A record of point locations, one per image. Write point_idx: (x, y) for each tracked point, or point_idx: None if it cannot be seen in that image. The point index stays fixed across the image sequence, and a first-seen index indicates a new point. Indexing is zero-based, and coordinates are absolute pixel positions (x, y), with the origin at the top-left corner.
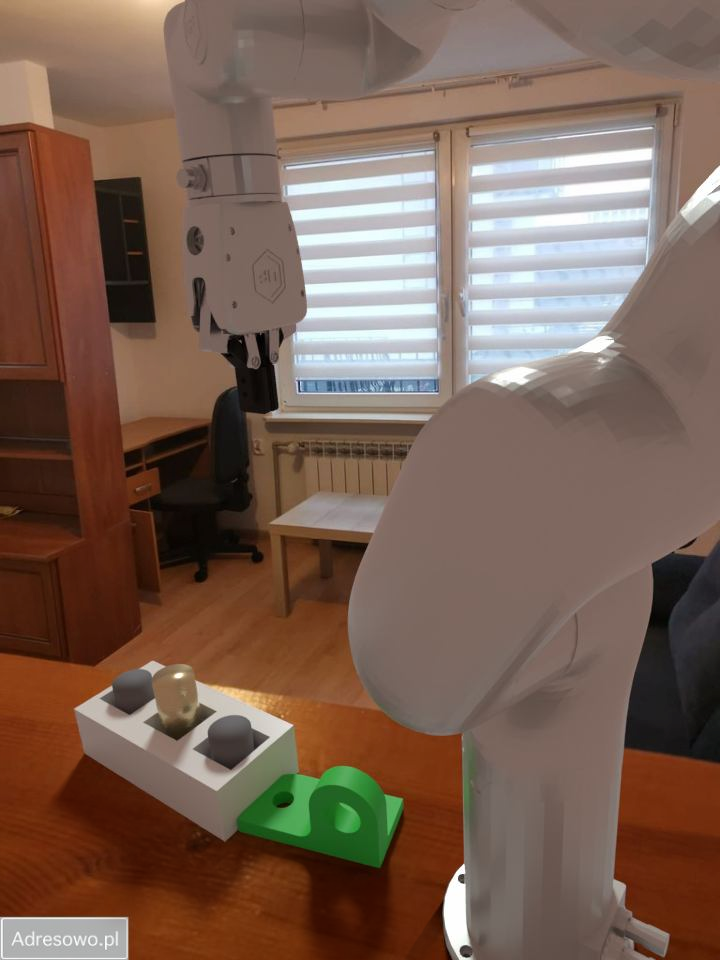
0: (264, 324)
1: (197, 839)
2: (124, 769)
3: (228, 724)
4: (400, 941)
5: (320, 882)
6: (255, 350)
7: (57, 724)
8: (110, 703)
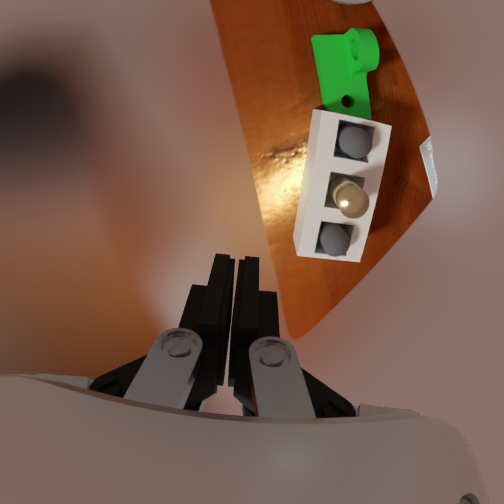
0: (286, 436)
1: None
2: None
3: (354, 146)
4: (378, 20)
5: None
6: (267, 381)
7: (328, 282)
8: None
